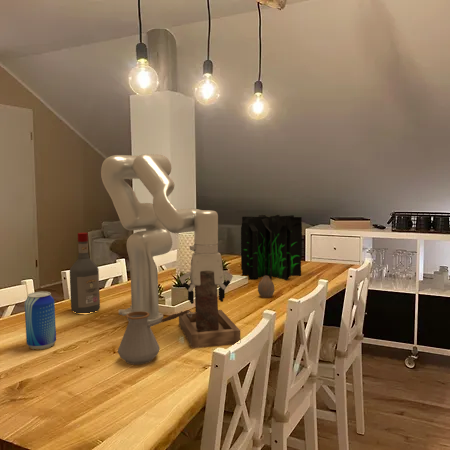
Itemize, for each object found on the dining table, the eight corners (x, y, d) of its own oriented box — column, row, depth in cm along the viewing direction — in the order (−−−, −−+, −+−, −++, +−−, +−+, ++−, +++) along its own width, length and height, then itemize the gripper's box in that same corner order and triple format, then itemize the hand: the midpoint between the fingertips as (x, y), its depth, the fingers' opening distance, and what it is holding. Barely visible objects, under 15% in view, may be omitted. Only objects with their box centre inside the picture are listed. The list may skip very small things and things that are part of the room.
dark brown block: (191, 332, 155) (190, 270, 153) (201, 325, 162) (200, 266, 160) (213, 334, 152) (212, 272, 150) (222, 328, 159) (221, 267, 157)
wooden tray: (191, 348, 144) (191, 334, 143) (178, 324, 167) (178, 313, 167) (240, 343, 148) (240, 330, 147) (221, 320, 171) (221, 309, 170)
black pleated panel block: (308, 273, 253) (309, 215, 250) (283, 284, 228) (284, 220, 225) (260, 268, 268) (259, 213, 265) (231, 277, 243) (231, 218, 240)
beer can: (38, 352, 142) (36, 298, 140) (20, 347, 146) (18, 295, 145) (62, 344, 149) (59, 292, 147) (44, 339, 153) (41, 289, 152)
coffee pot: (110, 365, 131) (108, 311, 130) (129, 350, 143) (127, 300, 141) (185, 372, 126) (184, 316, 125) (198, 356, 137) (197, 304, 136)
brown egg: (273, 299, 200) (273, 278, 199) (256, 298, 202) (256, 277, 201) (275, 295, 207) (275, 274, 206) (259, 294, 208) (259, 274, 207)
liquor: (102, 310, 185) (99, 232, 182) (81, 316, 179) (78, 235, 176) (89, 306, 192) (86, 231, 189) (68, 311, 185) (65, 233, 182)
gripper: (181, 252, 149) (181, 306, 151) (235, 249, 153) (235, 302, 155) (177, 248, 156) (177, 300, 158) (229, 246, 160) (229, 297, 162)
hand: (206, 301), depth 156 cm, fingers open, 9 cm apart
